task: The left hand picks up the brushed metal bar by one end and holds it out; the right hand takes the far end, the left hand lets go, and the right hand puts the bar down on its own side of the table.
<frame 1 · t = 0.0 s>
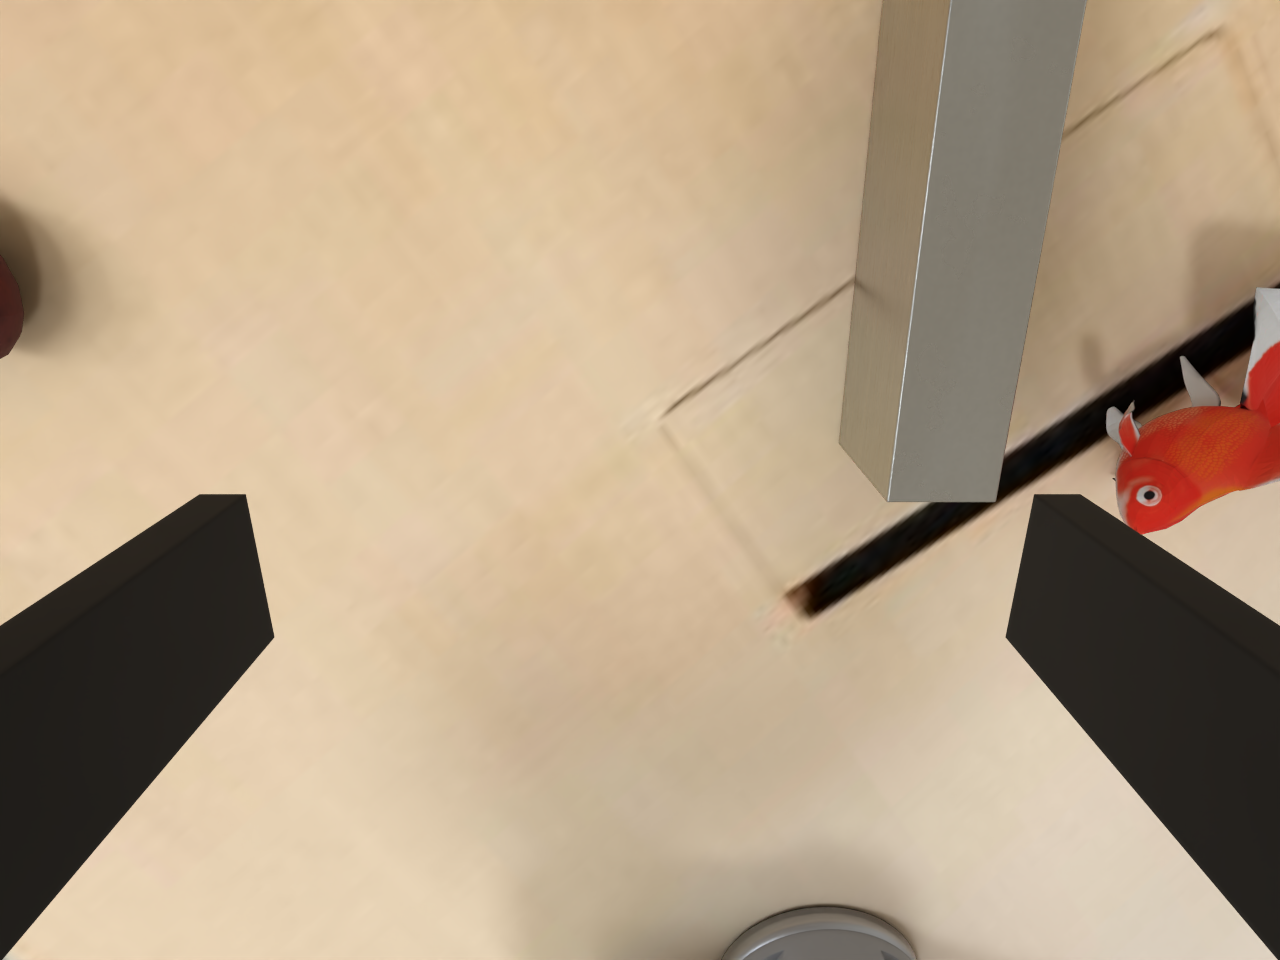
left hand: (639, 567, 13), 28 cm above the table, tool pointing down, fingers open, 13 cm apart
fish: (1182, 381, 40), on the table
bar: (907, 235, 37), on the table
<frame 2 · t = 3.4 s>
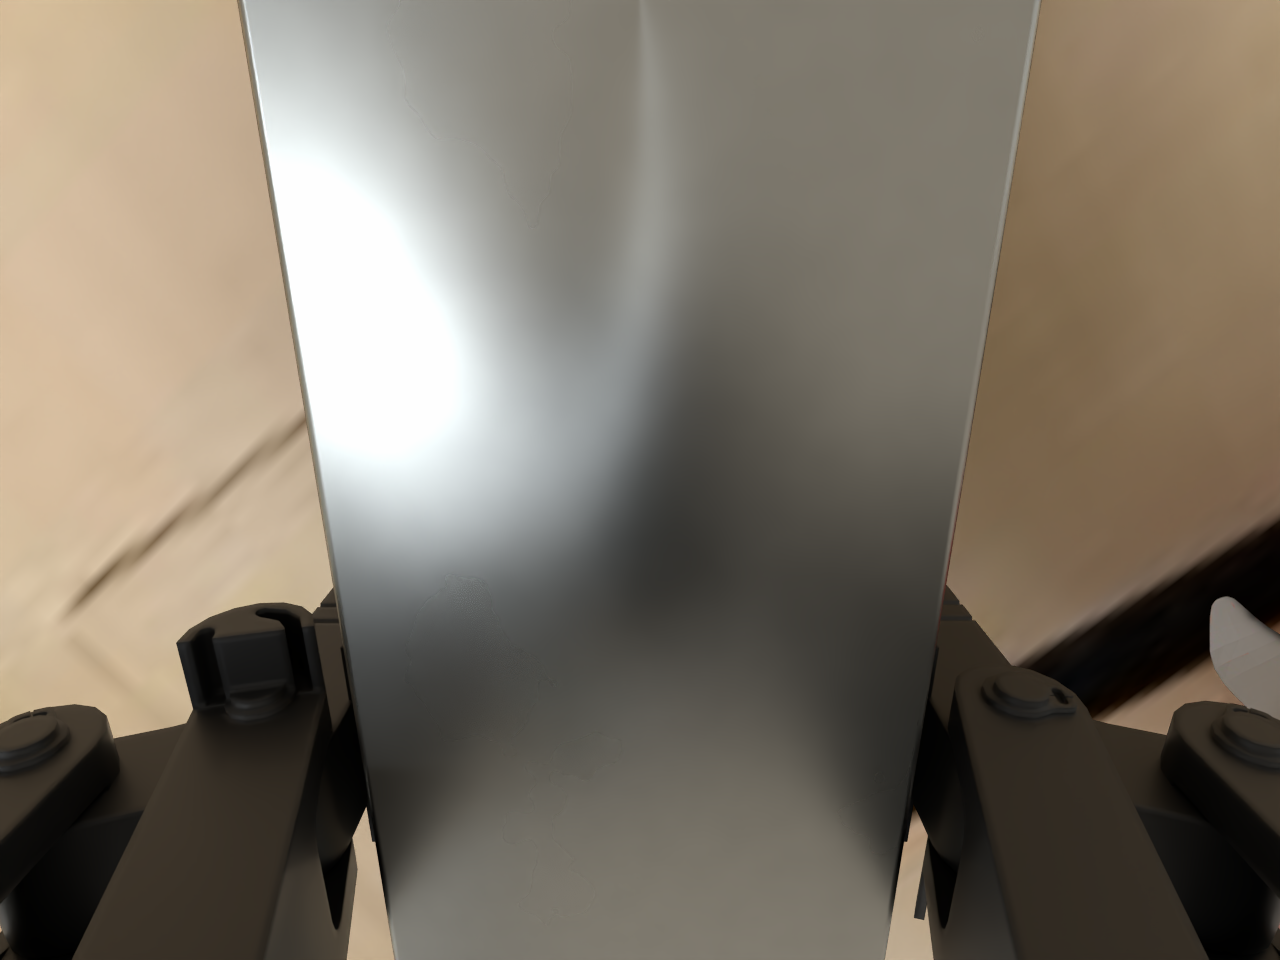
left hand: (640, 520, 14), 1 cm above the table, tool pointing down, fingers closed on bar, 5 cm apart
bar: (639, 127, 12), on the table, touching left hand
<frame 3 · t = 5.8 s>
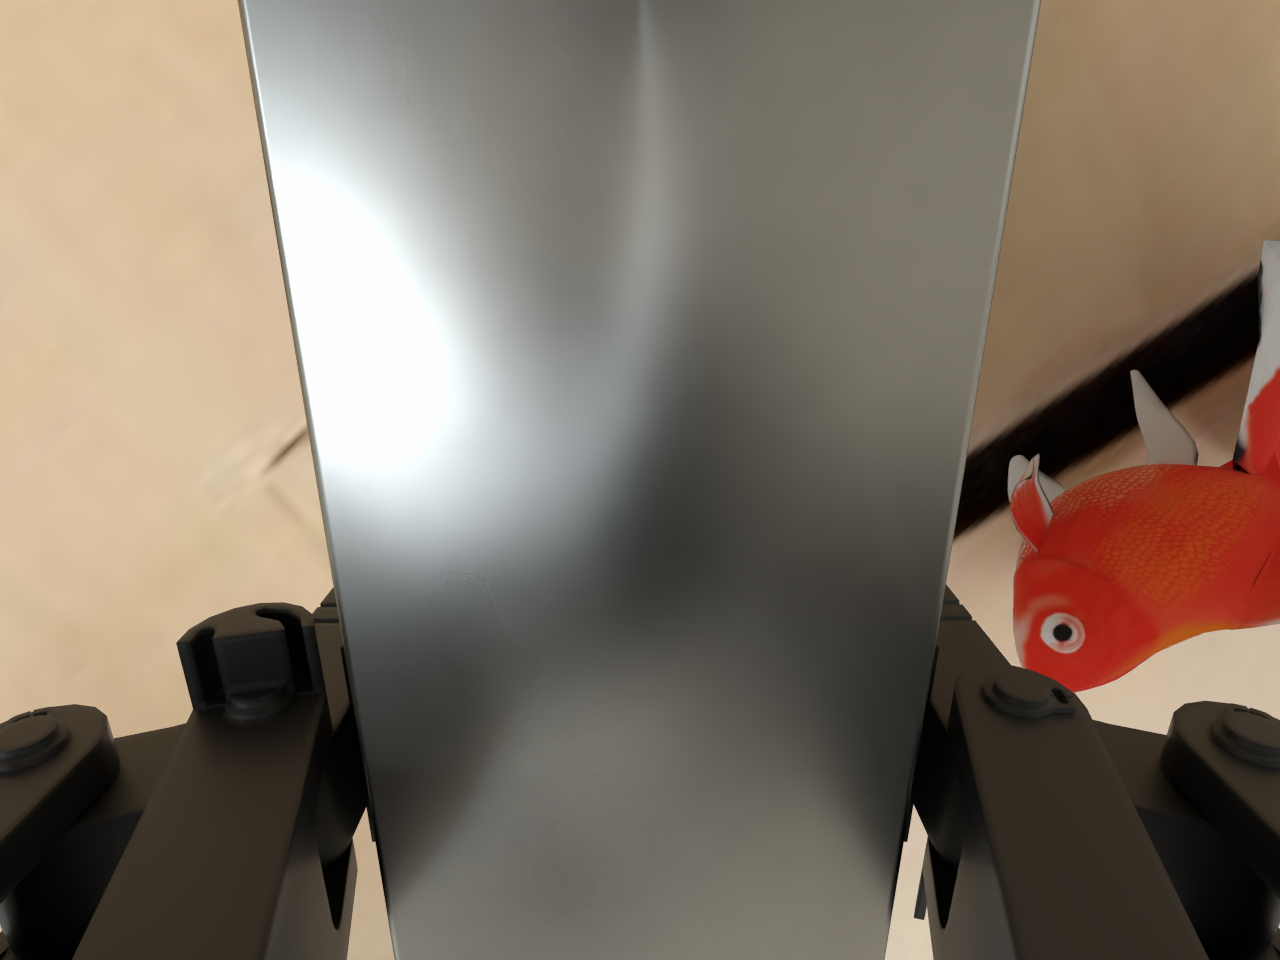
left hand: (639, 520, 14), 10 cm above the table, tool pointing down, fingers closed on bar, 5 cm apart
fish: (1136, 412, 24), on the table
bar: (639, 125, 12), point 9 cm above the table, touching left hand
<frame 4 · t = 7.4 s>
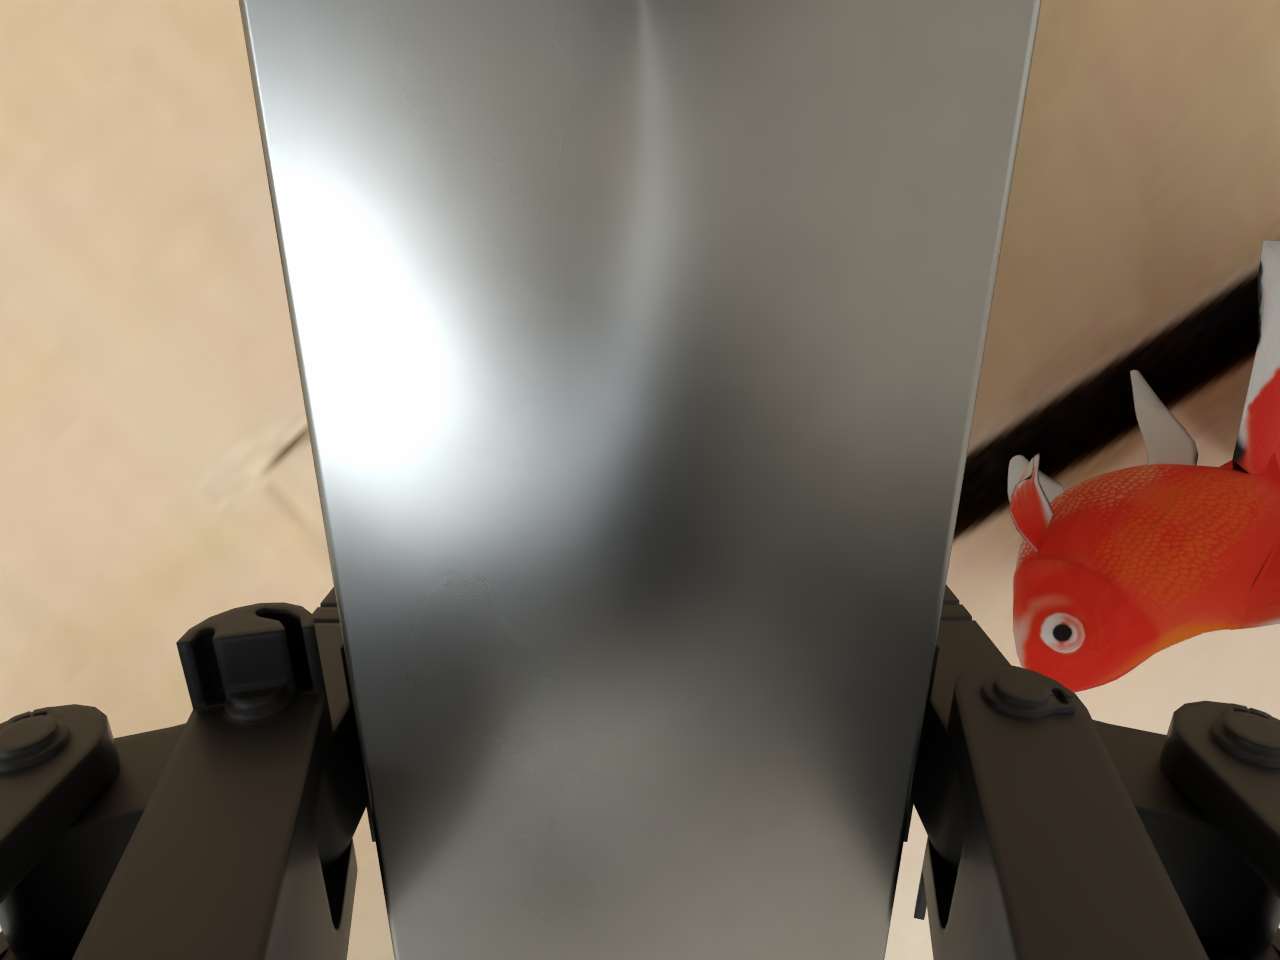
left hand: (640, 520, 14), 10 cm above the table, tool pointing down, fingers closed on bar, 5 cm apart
fish: (1136, 412, 24), on the table
bar: (639, 125, 12), point 9 cm above the table, touching left hand, right hand
when the left hand's fingers open (10 cm above the table, at t = 8.2 s): bar stays where it is, held by the right hand.
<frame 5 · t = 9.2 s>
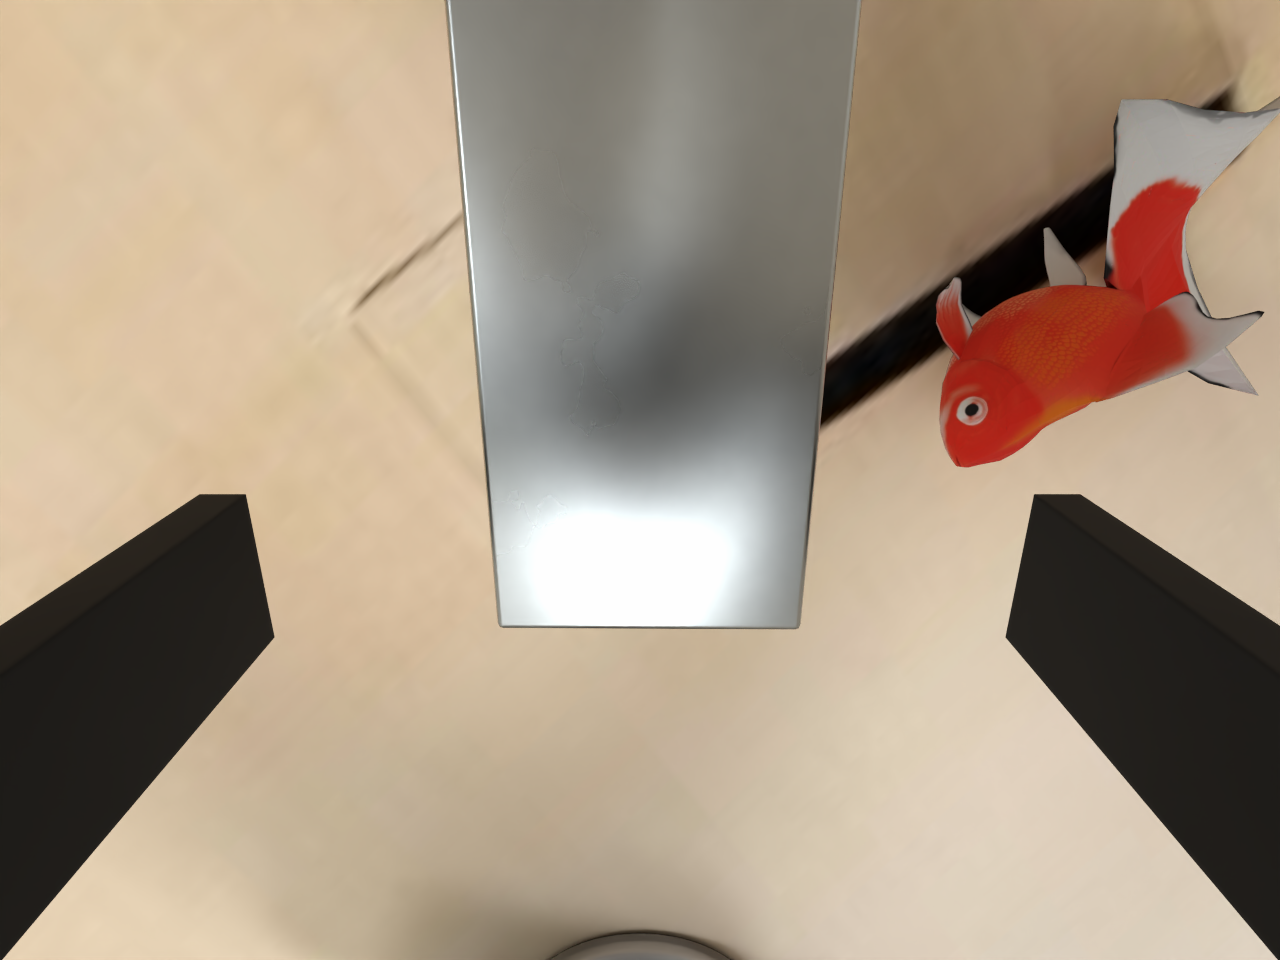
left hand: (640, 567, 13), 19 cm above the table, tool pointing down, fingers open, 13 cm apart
fish: (1050, 265, 29), on the table
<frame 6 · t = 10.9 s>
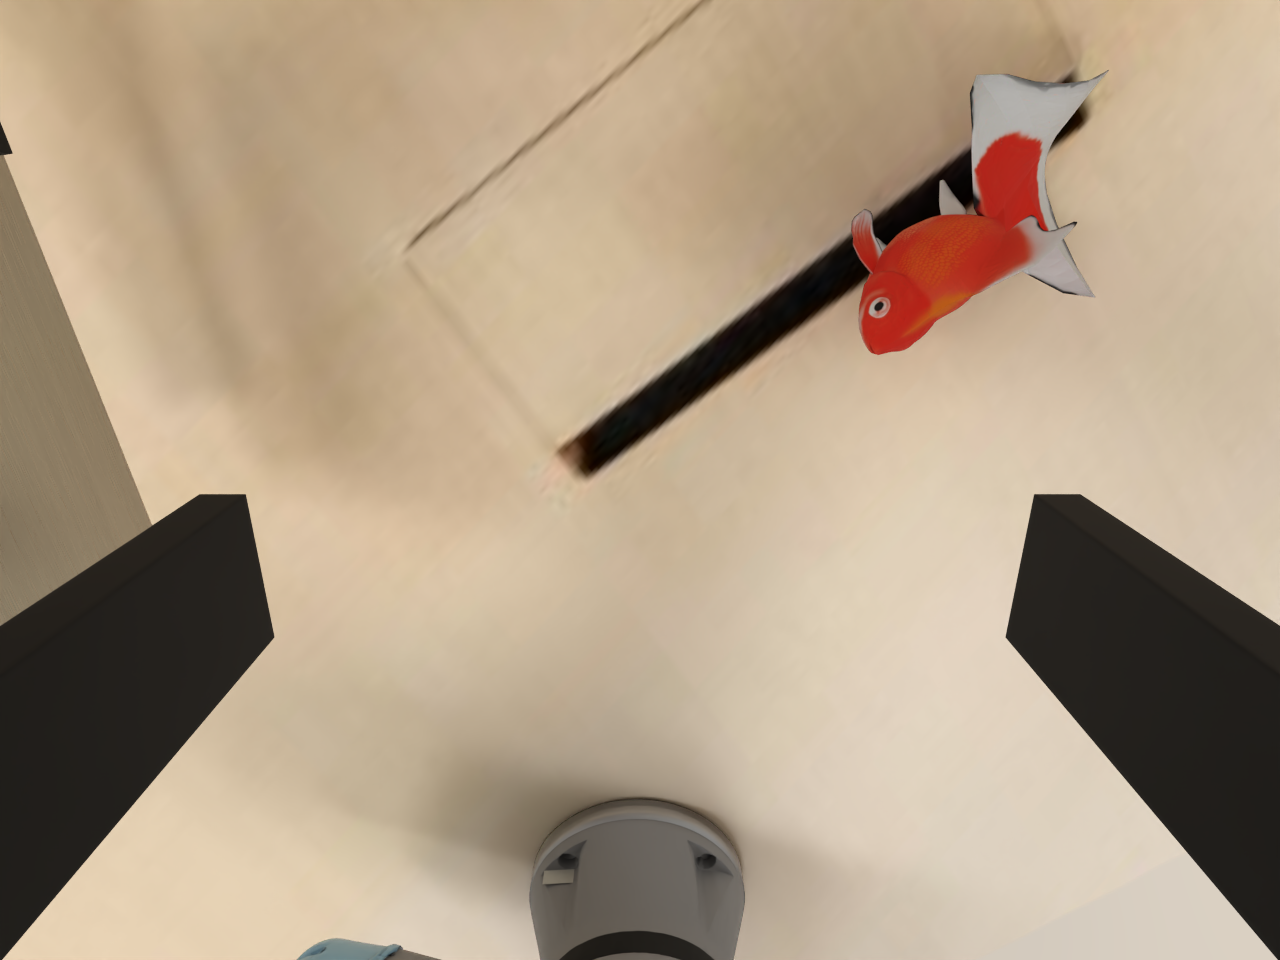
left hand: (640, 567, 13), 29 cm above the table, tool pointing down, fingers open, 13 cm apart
fish: (947, 210, 38), on the table
bar: (9, 326, 29), point 11 cm above the table, touching right hand
when the right hand's fingers open (2 cm above the table, at t = 12.5 s): bar drops 2 cm, on the table.
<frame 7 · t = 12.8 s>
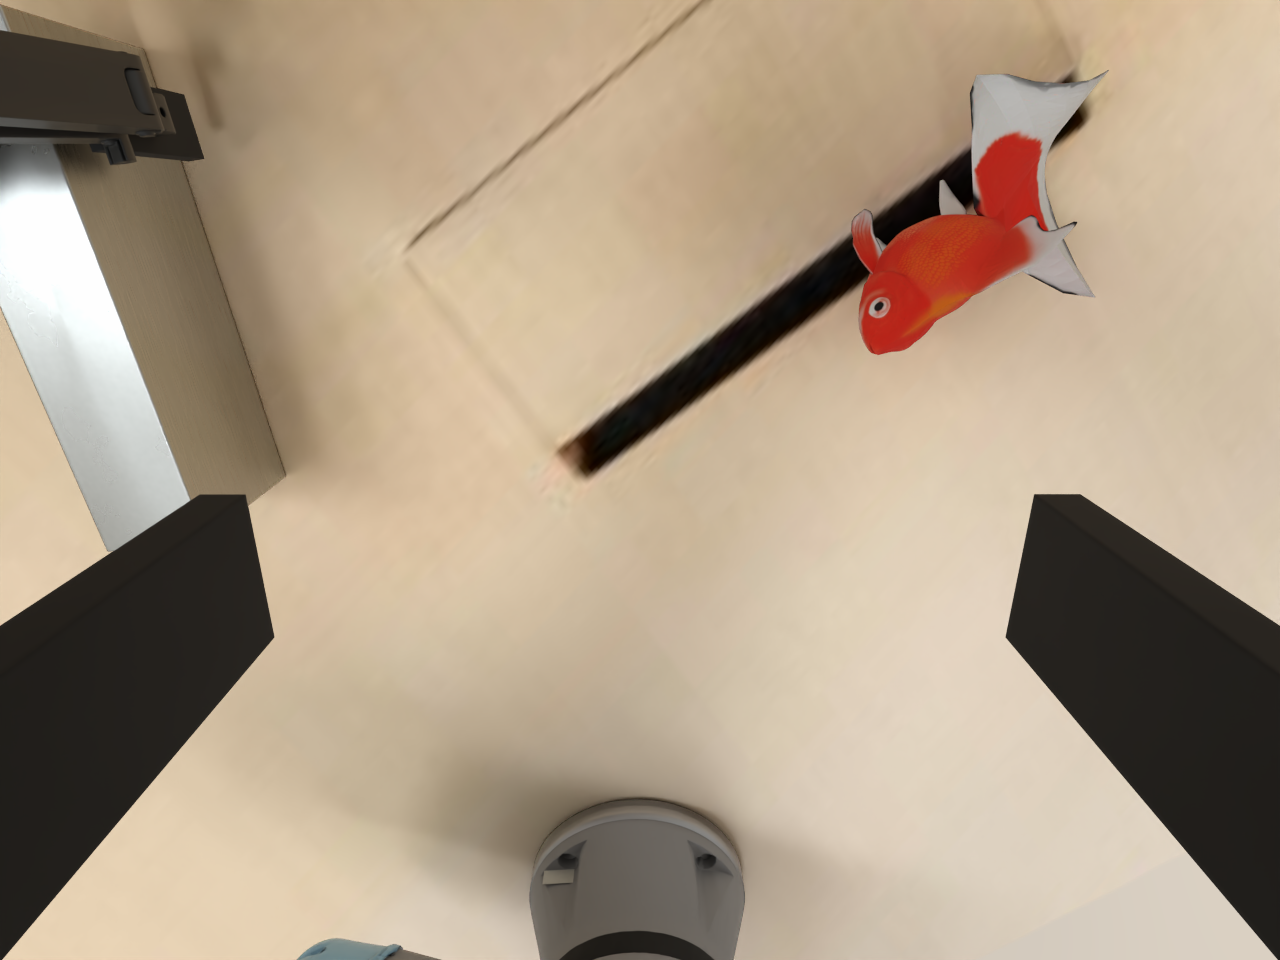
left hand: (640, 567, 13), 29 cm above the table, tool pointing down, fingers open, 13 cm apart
fish: (947, 210, 38), on the table
bar: (178, 290, 39), on the table
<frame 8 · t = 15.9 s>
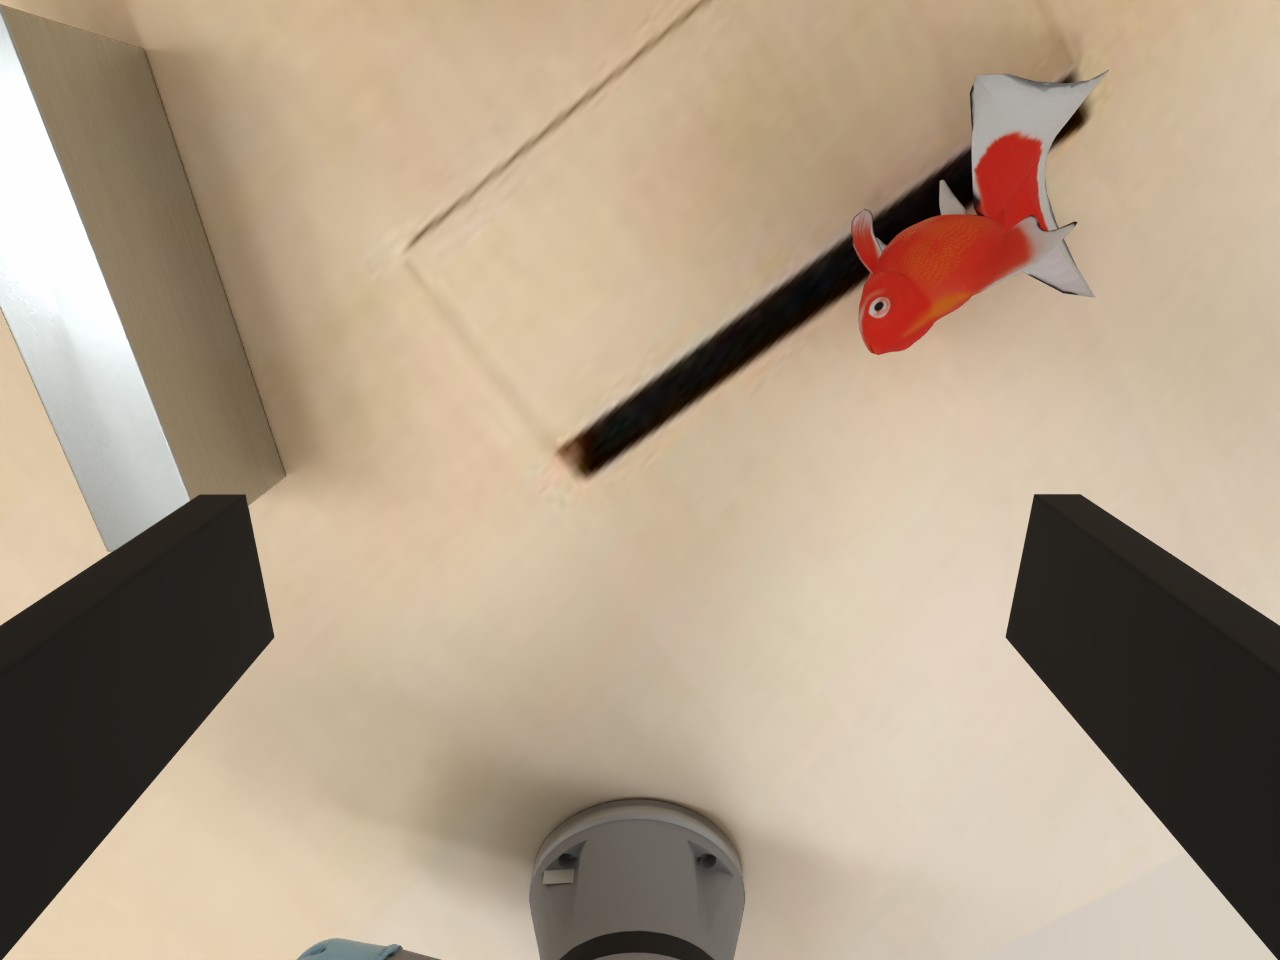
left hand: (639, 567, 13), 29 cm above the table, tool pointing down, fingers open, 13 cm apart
fish: (947, 210, 38), on the table
bar: (178, 290, 39), on the table
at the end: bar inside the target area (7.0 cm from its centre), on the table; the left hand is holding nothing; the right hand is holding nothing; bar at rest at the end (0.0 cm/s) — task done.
